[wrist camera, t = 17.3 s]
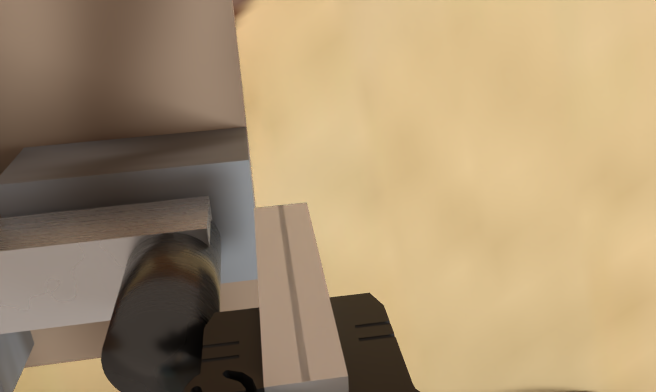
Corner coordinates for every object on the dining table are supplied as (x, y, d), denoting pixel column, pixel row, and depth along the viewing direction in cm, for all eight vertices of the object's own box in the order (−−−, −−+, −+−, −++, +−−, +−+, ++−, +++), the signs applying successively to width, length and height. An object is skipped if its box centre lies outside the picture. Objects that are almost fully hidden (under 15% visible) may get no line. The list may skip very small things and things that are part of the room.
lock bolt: (215, 194, 17) (211, 304, 13) (226, 267, 18) (225, 394, 14) (-133, 231, 16) (-285, 366, 12) (-102, 306, 17) (-229, 458, 13)
